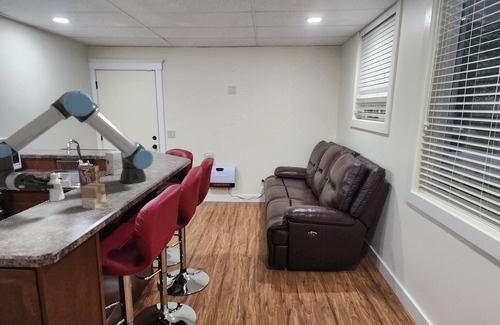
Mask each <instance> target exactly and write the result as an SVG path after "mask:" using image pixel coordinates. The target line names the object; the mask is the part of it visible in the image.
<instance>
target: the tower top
mask: <svg viewBox="0 0 500 325" xmlns="http://www.w3.org/2000/svg"><path fill="white" fill-rule="evenodd" d="M105 186H106V185H105V183H100V184H98V183H90V184H87V185H85V186H83V187H81V190H80V195H81V194H82V195H81V199H82V198H98V197H100V196H102V195H104V194H106V187H105Z"/></svg>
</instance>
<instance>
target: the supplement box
mask: <svg viewBox="0 0 500 325" xmlns="http://www.w3.org/2000/svg"><path fill="white" fill-rule="evenodd" d="M104 154H105V164H106V166H105V167H106V174H109V175H111V176H117V175H121V173H122V157H121V151H119V150H111V151H105V153H104Z"/></svg>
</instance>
